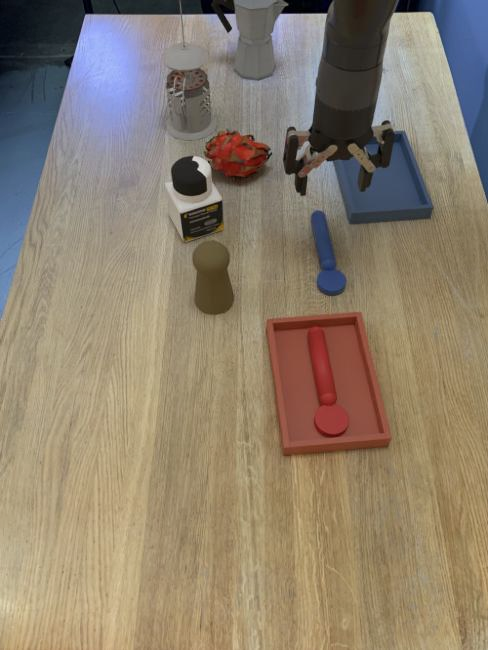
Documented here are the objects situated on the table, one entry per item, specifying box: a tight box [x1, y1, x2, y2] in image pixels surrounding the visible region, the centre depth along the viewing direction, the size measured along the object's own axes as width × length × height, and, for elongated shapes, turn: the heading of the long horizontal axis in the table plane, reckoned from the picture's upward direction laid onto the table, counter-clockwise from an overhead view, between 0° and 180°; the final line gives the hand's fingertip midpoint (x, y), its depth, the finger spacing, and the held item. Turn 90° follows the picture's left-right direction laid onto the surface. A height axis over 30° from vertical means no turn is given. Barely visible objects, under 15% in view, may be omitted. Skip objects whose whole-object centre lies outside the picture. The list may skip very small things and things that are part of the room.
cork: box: [191, 239, 235, 316], centre depth 86 cm, size 6×6×11 cm
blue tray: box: [332, 130, 435, 225], centre depth 104 cm, size 14×20×2 cm
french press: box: [161, 0, 218, 141], centre depth 103 cm, size 10×12×25 cm
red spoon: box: [308, 326, 349, 438], centre depth 81 cm, size 16×4×2 cm, turn 5°
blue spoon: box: [310, 209, 347, 296], centre depth 94 cm, size 16×4×2 cm, turn 5°
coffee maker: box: [211, 0, 289, 81], centre depth 117 cm, size 15×9×18 cm, turn 77°
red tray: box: [265, 311, 393, 456], centre depth 81 cm, size 14×20×2 cm
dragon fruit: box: [202, 127, 273, 182], centre depth 104 cm, size 8×8×12 cm
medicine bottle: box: [164, 155, 225, 243], centre depth 95 cm, size 7×7×12 cm
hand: (331, 189), depth 85 cm, fingers open, 8 cm apart
